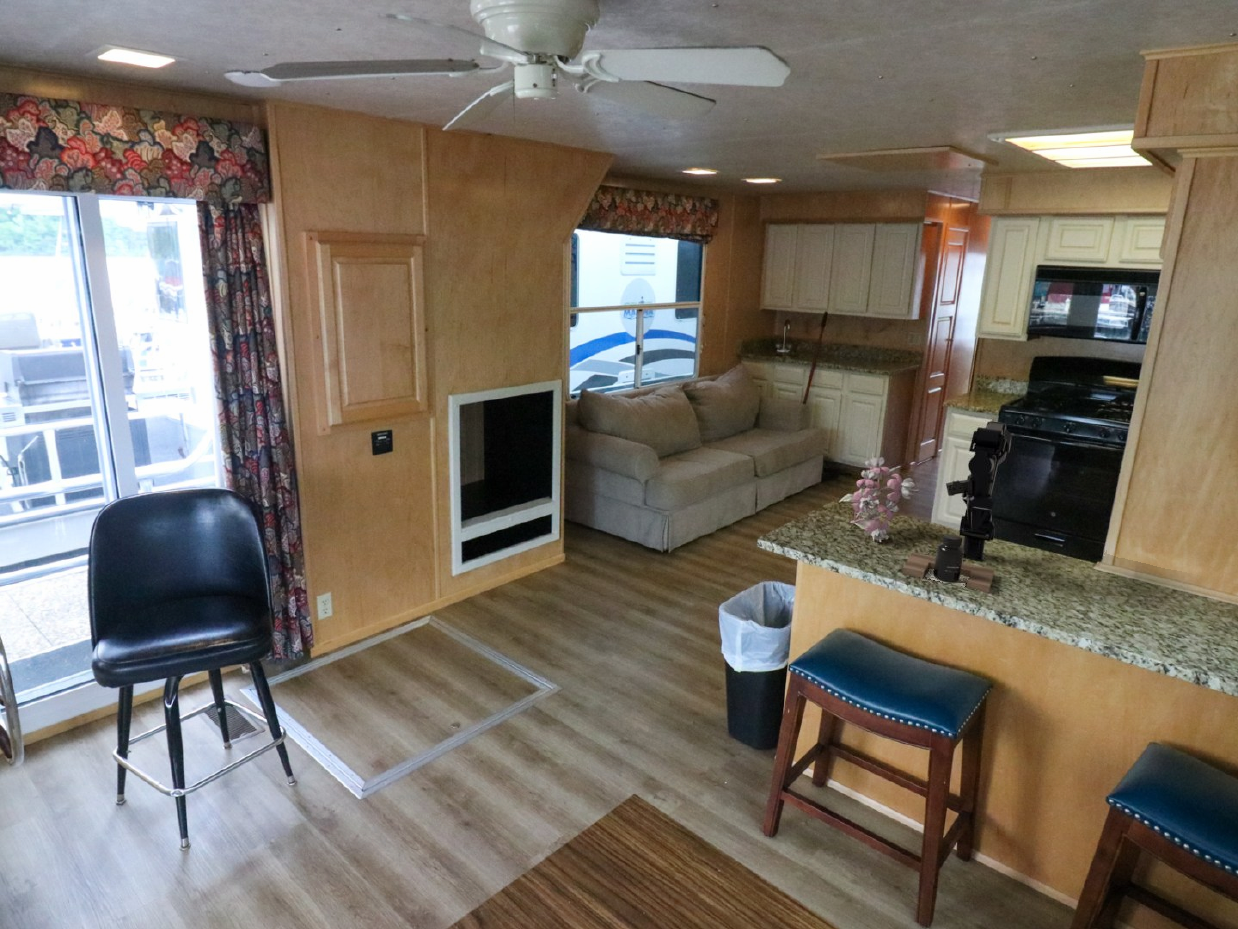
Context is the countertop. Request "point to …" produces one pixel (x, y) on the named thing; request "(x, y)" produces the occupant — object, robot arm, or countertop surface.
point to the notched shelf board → (977, 575)
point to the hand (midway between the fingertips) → (971, 528)
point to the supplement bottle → (949, 559)
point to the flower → (868, 499)
